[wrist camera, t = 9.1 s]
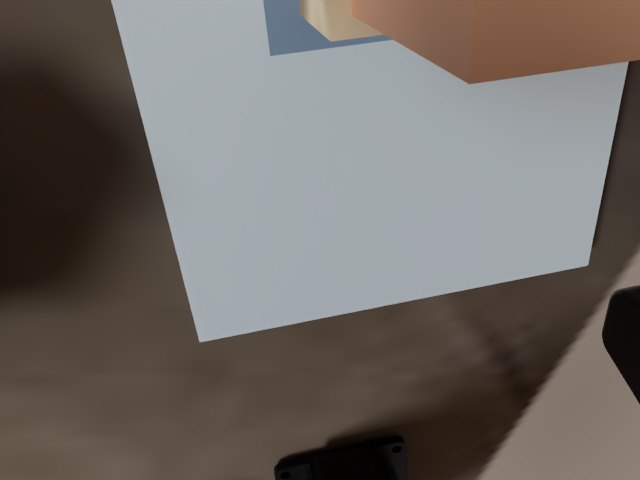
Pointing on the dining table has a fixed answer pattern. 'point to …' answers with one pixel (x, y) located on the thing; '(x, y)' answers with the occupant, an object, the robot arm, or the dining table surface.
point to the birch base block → (335, 19)
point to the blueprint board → (354, 164)
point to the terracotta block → (509, 33)
